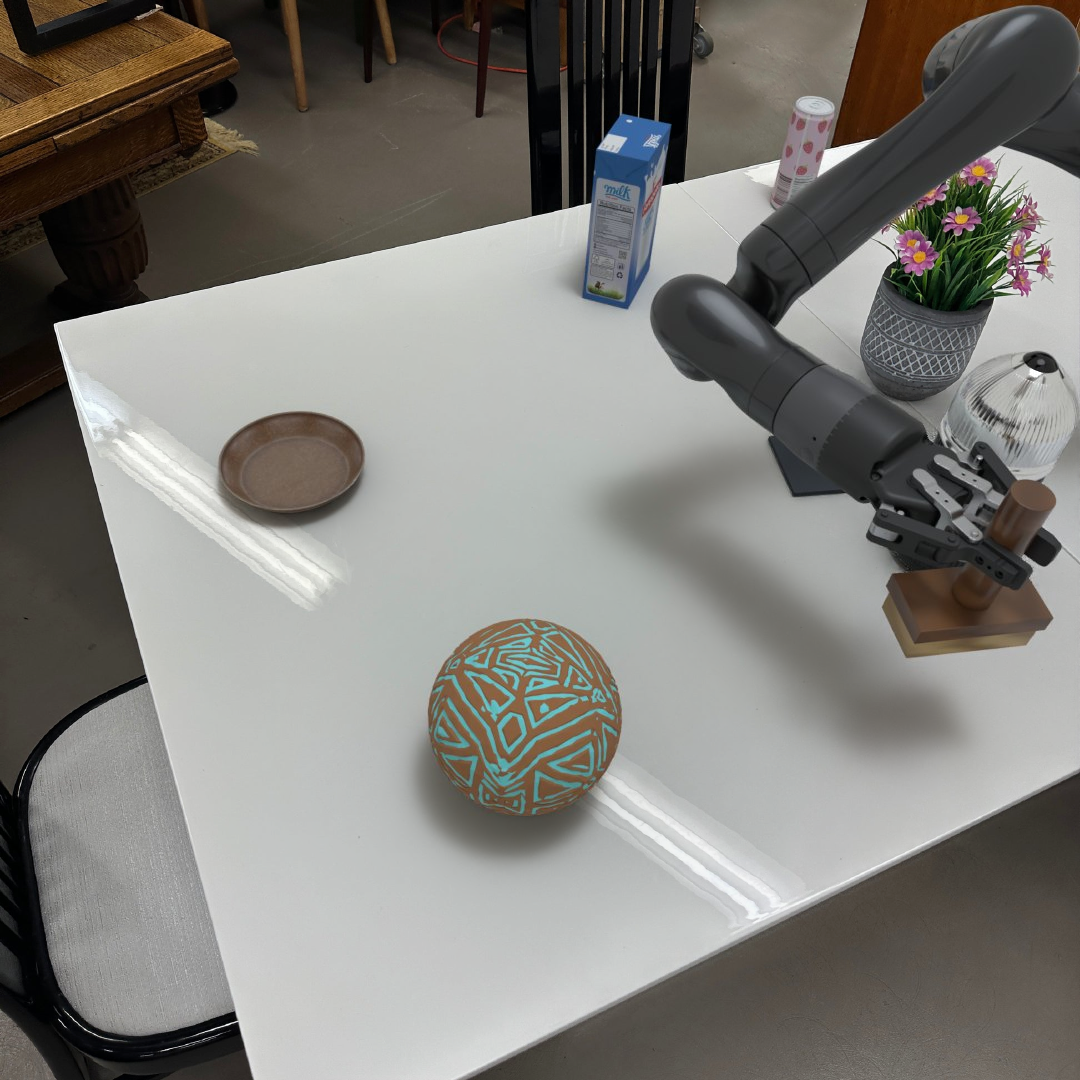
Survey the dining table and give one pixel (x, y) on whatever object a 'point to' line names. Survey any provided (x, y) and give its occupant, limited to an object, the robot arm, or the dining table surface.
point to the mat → (800, 473)
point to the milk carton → (624, 209)
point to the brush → (974, 590)
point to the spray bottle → (1010, 419)
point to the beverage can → (803, 147)
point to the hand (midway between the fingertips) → (1039, 567)
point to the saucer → (291, 461)
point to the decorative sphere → (524, 717)
